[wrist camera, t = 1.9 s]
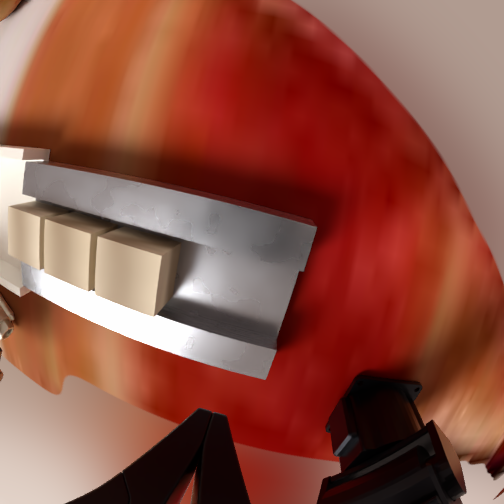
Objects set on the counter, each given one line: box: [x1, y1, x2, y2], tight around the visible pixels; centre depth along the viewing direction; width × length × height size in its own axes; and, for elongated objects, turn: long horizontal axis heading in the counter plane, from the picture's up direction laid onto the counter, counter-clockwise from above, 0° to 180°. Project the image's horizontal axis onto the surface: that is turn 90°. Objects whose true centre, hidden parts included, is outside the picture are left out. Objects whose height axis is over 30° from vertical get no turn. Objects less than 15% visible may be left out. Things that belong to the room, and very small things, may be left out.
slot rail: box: [21, 161, 317, 380], centre depth 17 cm, size 20×10×3 cm, turn 76°
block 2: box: [44, 212, 118, 292], centre depth 16 cm, size 4×4×3 cm
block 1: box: [8, 201, 69, 270], centre depth 16 cm, size 4×4×3 cm
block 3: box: [95, 226, 182, 318], centre depth 16 cm, size 4×4×3 cm
